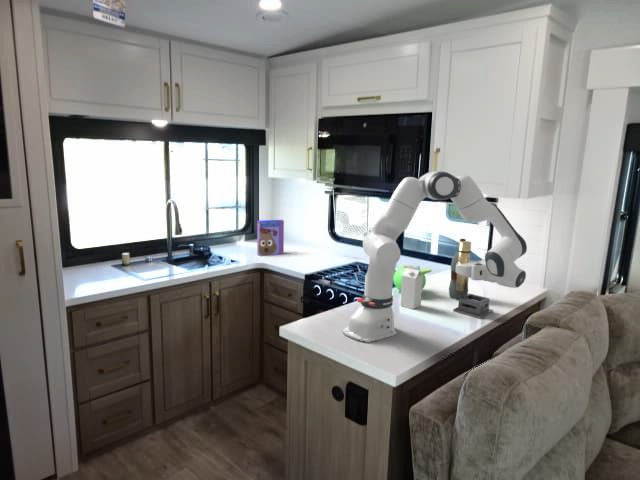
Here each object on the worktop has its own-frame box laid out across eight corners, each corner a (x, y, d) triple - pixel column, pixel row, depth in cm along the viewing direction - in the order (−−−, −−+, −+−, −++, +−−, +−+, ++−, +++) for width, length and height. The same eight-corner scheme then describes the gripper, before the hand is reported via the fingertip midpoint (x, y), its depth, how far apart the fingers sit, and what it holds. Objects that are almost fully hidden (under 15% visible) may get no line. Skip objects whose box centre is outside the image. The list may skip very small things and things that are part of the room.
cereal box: (259, 256, 300) (259, 221, 295) (257, 254, 304) (257, 220, 299) (283, 254, 306) (283, 220, 302) (281, 252, 311) (281, 219, 306)
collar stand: (480, 319, 193) (481, 305, 191) (453, 311, 202) (454, 297, 200) (493, 312, 202) (494, 298, 200) (466, 304, 211) (467, 291, 209)
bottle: (454, 300, 216) (459, 241, 210) (444, 295, 225) (449, 237, 219) (471, 299, 219) (476, 240, 213) (460, 293, 227) (465, 237, 222)
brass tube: (464, 292, 196) (467, 243, 191) (453, 289, 199) (456, 242, 195) (469, 289, 199) (473, 242, 195) (459, 287, 203) (462, 240, 199)
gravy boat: (387, 288, 235) (389, 261, 232) (416, 286, 239) (418, 260, 236) (401, 298, 217) (403, 270, 215) (432, 296, 222) (434, 268, 219)
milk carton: (407, 302, 213) (409, 264, 209) (420, 305, 208) (423, 266, 205) (400, 305, 207) (402, 267, 204) (413, 309, 203) (416, 269, 199)
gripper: (504, 260, 191) (478, 254, 202) (472, 266, 180) (446, 259, 192) (502, 274, 192) (477, 267, 204) (471, 281, 182) (445, 273, 193)
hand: (462, 263), depth 198 cm, fingers closed on brass tube, 5 cm apart
